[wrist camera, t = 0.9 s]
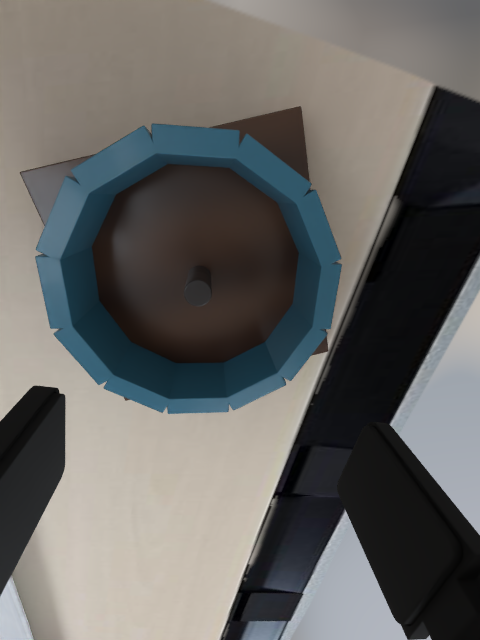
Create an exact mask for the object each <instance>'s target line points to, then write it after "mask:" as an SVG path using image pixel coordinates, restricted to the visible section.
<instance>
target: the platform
mask: <svg viewBox="0 0 480 640" xmlns="http://www.w3.org/2000/svg"><path fill="white" fill-rule="evenodd" d="M209 128H217V129H230V130H239V132H240V135H239V144H240V143H241V141H242V139H243V138H244V136H245V134H246V133H247V134H249V135H250V136H251V137H252V138H254V139H255V140H256V141H258V142H259V143H260V144H261V145H263V146H264V147H265V148H267V149H268V150H269V151H270V152H272V153H273V154H274V155H276V156H277V157H278V158H279V159H281V160H282V161H283V162H284V163H286V164H287V165H288V166H290V167H291V168H292V169H293V170H295V171H296V172H297V173H299V174H300V175H301V176H302V177H304V178H305V179H306V180H308V181H309V172H308V163H307V154H306V145H305V136H304V127H303V118H302V109H301V107H300V106H299V107H295V108H291V109H286V110H282V111H278V112H273V113H269V114H265V115H261V116H256V117H252V118H248V119H244V120H239V121H235V122H231V123H227V124H222V125H218V126H214V127H209ZM94 155H96V154H94ZM94 155H90V156H86V157H81V158H77V159H73V160H69V161H64V162H60V163H56V164H52V165H47V166H43V167H39V168H35V169H30V170H26V171H22V172H20V174H21V176H22V178H23V181H24V183H25V185H26V187H27V189H28V191H29V194H30V196H31V198H32V200H33V202H34V204H35V206H36V209H37V211H38V213H39V215H40V217H41V219H42V222H43V224H44V226H45V225H46V223H47V220H48V218H49V215H50V213H51V210H52V208H53V205H54V203H55V200H56V198H57V195H58V193H59V190H60V188H61V186H62V183H63V181H64V178H65V176H71V177H75V176H74V175H73V173H72V172H71V169H72V168H74V167H76V166H77V165H79V164H81V163H82V162H84V161H86V160H87V159H89V158H91V157H92V156H94ZM309 182H310V181H309ZM309 190H310V188H309ZM92 252H93V259H94V266H95V273H96V280H97V287H98V295H99V301H100V302H101V304H102V305H103V306H104V307H105V309H106V310H107V311H108V313H109V314H110V315H111V316H112V318H113V319H114V320H115V322H116V323H117V324H118V326H119V327H120V328H121V329H122V331H123V332H124V333H125V335H126V336H127V337H128V339H129V340H130V341H131V342H132V343H134V344H136V345H139V346H141V347H143V348H145V349H147V350H149V351H151V352H153V353H155V354H158V355H160V356H162V357H164V358H166V359H168V360H170V361H172V362H174V363H224V362H226V361H228V360H230V359H232V358H234V357H236V356H238V355H240V354H242V353H244V352H246V351H248V350H250V349H252V348H254V347H256V346H258V345H260V344H262V343H264V342H265V341H266V340H267V339H268V337H269V336H270V334H271V333H272V332H273V330H274V329H275V327H276V326H277V325H278V323H279V322H280V320H281V319H282V318H283V316H284V315H285V314H286V312H287V311H288V309H289V308H290V307H291V305H292V304H293V297H294V289H295V281H296V272H297V264H298V256H299V252H298V250H297V248H296V245H295V243H294V241H293V238H292V236H291V234H290V231H289V229H288V227H287V224H286V222H285V220H284V217H283V215H282V212H281V210H280V208H279V205H278V203H277V202H276V201H274V200H273V199H272V198H270V197H269V196H267V195H266V194H265V193H263V192H262V191H261V190H259V189H258V188H256V187H255V186H254V185H252V184H251V183H249V182H248V181H247V180H245V179H244V178H243V177H241V176H240V175H238V174H237V173H236V172H234V171H233V170H232V169H230V168H225V167H209V166H193V165H177V164H167V165H165V166H164V167H162V168H160V169H159V170H157V171H155V172H153V173H152V174H150V175H148V176H147V177H145V178H143V179H142V180H140V181H138V182H136V183H135V184H133V185H131V186H130V187H128V188H126V189H125V190H123V191H121V192H119V193H118V194H116V196H115V198H114V200H113V202H112V204H111V207H110V209H109V211H108V213H107V215H106V217H105V219H104V222H103V224H102V226H101V228H100V230H99V232H98V235H97V237H96V239H95V241H94V243H93V245H92ZM324 330H325V331H326V329H324ZM324 352H328V344H327V336H326V337H325V338H324V339H323V341H322V342H321V343H320V345H319V346H318V347H317V348H316V350H315V351H314V352H313V353H312V355H315V354H319V353H324ZM124 399H125V400H126V401H127V400H130V399H128V398H125V397H124Z"/></svg>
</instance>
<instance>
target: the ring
mask: <svg viewBox="0 0 480 640" xmlns="http://www.w3.org/2000/svg"><path fill="white" fill-rule="evenodd" d="M151 126H152V134H151V133H150V132H149V130H148V129H147V128H146V127H145V126H142V127H140V128H138V129H137V130H135V131H133V132H132V133H130V134H128V135H127V136H125V137H124V138H122V139H120V140H119V141H117V142H115V143H114V144H112V145H110V146H109V147H107V148H105V149H104V150H102V151H100V152H99V153H97V154H96V155H94V156H92V157H91V158H89V159H87V160H86V161H84V162H82V163H81V164H79V165H77V166H76V167H74V168H72V169H71V172H72V173H73V175H74V176H75V177H71V176H65V178H64V181H63V183H62V186H61V188H60V190H59V193H58V195H57V198H56V200H55V203H54V205H53V208H52V210H51V213H50V215H49V218H48V220H47V223H46V225H45V227H44V230H43V232H42V235H41V237H40V240H39V242H38V245H37V247H36V250H37V251H39V252H41V253H43V254H41V255H38V256H36V257H35V258H36V263H37V268H38V272H39V277H40V282H41V286H42V291H43V296H44V300H45V305H46V310H47V314H48V319H49V324H50V328H51V329H58V330H57V331H56V332H55V333H54V335H55V337H56V338H57V339H58V340H59V341H60V342H61V343H62V344H63V346H64V347H65V348H66V349H67V350H68V351H69V352H70V353H71V355H72V356H73V357H74V358H75V359H76V360H77V361H78V362H79V364H80V365H81V366H82V367H83V368H84V369H85V370H86V371H87V373H88V374H89V375H90V376H91V377H92V378H93V379H94V380H95V382H96V383H97V384H98V385H100V384H102V383H104V382H106V381H107V383H106V384H105V386H104V389H106V390H108V391H111V392H113V393H116V394H118V395H120V396H123V397H125V398H128V399H130V400H133V401H135V402H137V403H140V404H142V405H145V406H147V407H150V408H152V409H154V410H157V411H159V412H162V413H163V412H164V410H165V408H166V407H167V410H168V414H178V413H211V412H228V411H229V405H230V406H231V408H232V409H233V410H236V409H238V408H240V407H242V406H244V405H246V404H248V403H250V402H252V401H254V400H256V399H258V398H260V397H262V396H264V395H266V394H268V393H270V392H273V391H275V390H277V389H279V388H281V387H283V386H285V385H286V382H285V379H287V380H289V381H291V380H292V379H293V378H294V376H295V375H296V374H297V373H298V371H299V370H300V369H301V367H302V366H303V365H304V364H305V362H306V361H307V360H308V359H309V357H310V356H311V355H312V353H313V352H314V351H315V350H316V348H317V347H318V346H319V345H320V343H321V342H322V341H323V339H324V338H325V337H326V336H327V332H326V331H325V330H324V329H331V323H332V318H333V312H334V306H335V301H336V295H337V289H338V284H339V278H340V272H341V267H342V265H341V264H339V263H337V262H336V261H338V260H340V259H341V256H340V253H339V251H338V248H337V245H336V243H335V240H334V237H333V234H332V232H331V229H330V226H329V223H328V221H327V218H326V215H325V213H324V210H323V207H322V204H321V202H320V199H319V196H318V194H317V191H316V190H309V188H310V187H311V185H312V184H311V183H310V182H309V181H308V180H306V179H305V178H304V177H302V176H301V175H300V174H299V173H297V172H296V171H295V170H293V169H292V168H291V167H290V166H288V165H287V164H286V163H284V162H283V161H282V160H281V159H279V158H278V157H277V156H276V155H274V154H273V153H272V152H270V151H269V150H268V149H267V148H265V147H264V146H263V145H261V144H260V143H259V142H258V141H256V140H255V139H254V138H252V137H251V136H250V135H249V134H247V133H246V134H245V136H244V138H243V139H242V141H241V143H240V144H239V135H240V132H239V130H230V129H217V128H204V127H192V126H179V125H166V124H152V125H151ZM167 164H177V165H193V166H209V167H225V168H230V169H232V170H233V171H234V172H236V173H237V174H238V175H240V176H241V177H243V178H244V179H245V180H247V181H248V182H249V183H251V184H252V185H254V186H255V187H256V188H258V189H259V190H261V191H262V192H263V193H265V194H266V195H267V196H269V197H270V198H272V199H273V200H274V201H276V202H277V203H278V205H279V208H280V210H281V212H282V215H283V217H284V220H285V222H286V224H287V227H288V229H289V231H290V234H291V236H292V238H293V241H294V243H295V245H296V248H297V250H298V252H299V256H298V264H297V272H296V281H295V289H294V297H293V304H292V305H291V307H290V308H289V309H288V311H287V312H286V314H285V315H284V316H283V318H282V319H281V320H280V322H279V323H278V325H277V326H276V327H275V329H274V330H273V332H272V333H271V334H270V336H269V337H268V339H267V340H266V341H265V342H264V343H262V344H260V345H258V346H256V347H254V348H252V349H250V350H248V351H246V352H244V353H242V354H240V355H238V356H236V357H234V358H232V359H230V360H228V361H226V362H224V363H174V362H172V361H170V360H168V359H166V358H164V357H162V356H160V355H158V354H155V353H153V352H151V351H149V350H147V349H145V348H143V347H141V346H139V345H136V344H134V343H132V342H131V341H130V340H129V339H128V337H127V336H126V335H125V333H124V332H123V331H122V329H121V328H120V327H119V326H118V324H117V323H116V322H115V320H114V319H113V318H112V316H111V315H110V314H109V313H108V311H107V310H106V309H105V307H104V306H103V305H102V304H101V302H100V301H99V295H98V287H97V280H96V273H95V266H94V259H93V252H92V245H93V243H94V241H95V239H96V237H97V235H98V232H99V230H100V228H101V226H102V224H103V222H104V219H105V217H106V215H107V213H108V211H109V209H110V207H111V204H112V202H113V200H114V198H115V196H116V194H118V193H119V192H121V191H123V190H125V189H126V188H128V187H130V186H131V185H133V184H135V183H136V182H138V181H140V180H142V179H143V178H145V177H147V176H148V175H150V174H152V173H153V172H155V171H157V170H159V169H160V168H162V167H164V166H165V165H167ZM284 378H285V379H284Z"/></svg>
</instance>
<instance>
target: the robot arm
mask: <svg viewBox="0 0 480 640" xmlns="http://www.w3.org/2000/svg"><path fill="white" fill-rule="evenodd" d="M64 468H65V395H64V394H59V390H58V388H53V387H44V386H33V387H32V388H31V389H30V390H29V391H28V392H27V393H26V394H25V395H24V396H23V397H22V398H21V399H20V401H19V402H18V403H17V404H16V405H15V406H14V407H13V408H12V409H11V410H10V412H9V413H8V414H7V415H6V416H5V417H4V418H3V419H2V420H1V421H0V596H1V594H2V592H3V590H4V588H5V586H6V584H7V582H8V580H9V579H10V577H11V575H12V573H13V571H14V569H15V567H16V565H17V563H18V561H19V559H20V557H21V555H22V553H23V551H24V549H25V547H26V546H27V544H28V542H29V540H30V538H31V536H32V534H33V532H34V530H35V528H36V526H37V524H38V522H39V520H40V518H41V516H42V514H43V512H44V511H45V509H46V507H47V505H48V503H49V501H50V499H51V497H52V495H53V493H54V491H55V489H56V487H57V485H58V483H59V481H60V479H61V477H62V475H63V472H64ZM337 490H338V494H339V496H340V499H341V501H342V503H343V505H344V507H345V510H346V512H347V514H348V516H349V519H350V521H351V523H352V525H353V528H354V530H355V532H356V534H357V537H358V539H359V541H360V543H361V545H362V548H363V550H364V552H365V554H366V557H367V559H368V561H369V563H370V566H371V568H372V570H373V572H374V574H375V577H376V579H377V581H378V583H379V586H380V588H381V590H382V592H383V595H384V597H385V599H386V601H387V604H388V606H389V608H390V610H391V613H392V615H393V616H394V618H395V620H396V621H397V622H398V623H399V624H401V626H402V628H403V630H404V633H405V635H406V636H407V639H408V640H414V639H426V638H427V637H428V636H429V635H430V637H431V639H432V640H480V535H479V534H478V533H477V532H476V530H475V529H474V528H473V527H472V525H471V524H470V523H469V522H468V520H467V519H466V518H465V517H464V516H463V514H462V513H461V512H460V511H459V509H458V508H457V507H456V506H455V504H454V503H453V502H452V501H451V499H450V498H449V497H448V496H447V495H446V493H445V492H444V491H443V490H442V488H441V487H440V486H439V485H438V483H437V482H436V481H435V480H434V478H433V477H432V476H431V475H430V473H429V472H428V471H427V470H426V469H425V467H424V466H423V465H422V464H421V462H420V461H419V460H418V459H417V457H416V456H415V455H414V454H413V453H412V451H411V450H410V449H409V448H408V446H407V445H406V444H405V443H404V441H403V440H402V439H401V438H400V436H399V435H398V434H397V433H396V432H395V430H394V429H393V428H392V427H391V426H390V425H389V424H387V423H377V422H370V423H368V425H367V426H365V427H363V429H362V431H361V433H360V435H359V438H358V440H357V442H356V444H355V446H354V448H353V451H352V453H351V455H350V457H349V459H348V461H347V464H346V466H345V468H344V470H343V472H342V474H341V477H340V479H339V481H338V485H337Z"/></svg>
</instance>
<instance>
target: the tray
mask: <svg viewBox="0 0 480 640" xmlns="http://www.w3.org/2000/svg"><path fill="white" fill-rule="evenodd" d="M0 640H34V638H33V635H32V632H31V629H30V626H29V623H28V620H27V617H26V614H25V611H24V609H23V606H22V603H21V600H20V597H19V594H18V592H17V589H16V586H15V583H14V580H13V578H12V575H11V577H10V579H9V580H8V582H7V584H6V586H5V588H4V590H3V592H2V594H1V596H0Z"/></svg>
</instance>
